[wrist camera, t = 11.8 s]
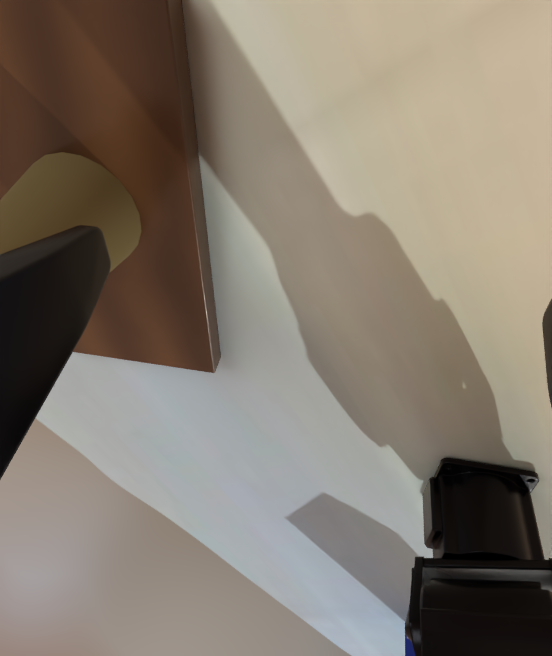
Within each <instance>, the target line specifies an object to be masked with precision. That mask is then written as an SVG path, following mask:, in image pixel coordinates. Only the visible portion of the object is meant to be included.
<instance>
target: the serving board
mask: <svg viewBox="0 0 552 656" xmlns="http://www.w3.org/2000/svg"><path fill="white" fill-rule="evenodd" d="M60 152H65V153H70V154H75V155H81V156H83V157H85V158H87V159H90V160H92V161H94V162H96V163H98V164H100V165H102V166H103V167H104V168H105V169H106V170H108V171H109V172H110V173H111V174H113V175H114V176H115V177H116V178H117V179H119V181H120V182H121V183H122V184H123V186H124V187H125V188H126V190H127V191H128V192H129V194H130V195H131V196H132V198H133V200H134V203H135V205H136V207H137V210H138V212H139V214H140V222H141V235H140V239H139V243H138V246H137V247H136V248H135V249H134V250H133V252H132V253H131V254H130V255H129V256H128V257H127V258H126V259H125V260H123V261H122V262H121V263H120V264H119V265H118V266H117V267H115V268H114V269H113V270H112V271H111V272H110V273H109V275H108V277H107V280H106V282H105V285H104V287H103V289H102V292H101V294H100V296H99V299H98V301H97V304H96V306H95V308H94V311H93V313H92V316H91V318H90V320H89V322H88V324H87V327H86V329H85V331H84V332H83V334H82V336H81V338H80V340H79V342H78V343H77V345H76V347H75V349H74V350H73V352H78V353H84V354H91V355H98V356H104V357H111V358H118V359H124V360H131V361H138V362H144V363H151V364H158V365H164V366H171V367H178V368H184V369H191V370H198V371H204V372H211V373H215V371H216V368H217V366H218V363H219V360H220V358H221V354H220V345H219V336H218V327H217V318H216V309H215V300H214V291H213V282H212V273H211V264H210V255H209V246H208V236H207V227H206V218H205V209H204V200H203V191H202V182H201V173H200V164H199V155H198V146H197V137H196V128H195V119H194V109H193V100H192V91H191V82H190V73H189V64H188V55H187V46H186V37H185V28H184V19H183V10H182V1H181V0H0V200H1V199H2V197H3V196H4V195H5V194H6V193H7V192H8V191H9V190H10V189H11V187H12V186H13V185H14V184H15V183H16V182H17V181H18V180H19V179H20V177H21V176H22V175H23V174H24V173H25V172H26V171H27V170H28V169H29V167H30V166H31V165H32V164H33V163H34V162H36V161H37V160H39V159H40V158H42V157H43V156H45V155H48V154H54V153H60Z"/></svg>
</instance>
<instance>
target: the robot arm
mask: <svg viewBox="0 0 552 656" xmlns="http://www.w3.org/2000/svg"><path fill="white" fill-rule="evenodd" d="M110 269H111V260H110V256H109V253H108V249H107V246H106V242H105V238H104V235H103V232H102V231H101V229H100V228H98V227H95V226H87V225H78V226H75V227H73V228H70V229H67V230H65V231H62V232H59V233H56V234H54V235H51V236H48V237H46V238H43V239H40V240H38V241H35V242H32V243H30V244H27V245H24V246H21V247H19V248H16V249H13V250H11V251H8V252H5V253H3V254H0V479H1V477H2V476H3V474H4V472H5V470H6V469H7V467H8V465H9V463H10V461H11V460H12V458H13V456H14V454H15V453H16V451H17V449H18V447H19V446H20V444H21V442H22V440H23V438H24V436H25V435H26V433H27V432H28V430H29V428H30V426H31V424H32V423H33V421H34V419H35V417H36V416H37V414H38V412H39V410H40V409H41V407H42V405H43V403H44V402H45V400H46V398H47V396H48V394H49V393H50V391H51V389H52V387H53V386H54V384H55V382H56V380H57V379H58V377H59V375H60V373H61V372H62V370H63V368H64V366H65V364H66V363H67V361H68V359H69V357H70V356H71V354H72V352H73V350H74V349H75V347H76V345H77V343H78V342H79V340H80V338H81V336H82V334H83V332H84V331H85V329H86V327H87V324H88V322H89V320H90V318H91V316H92V313H93V311H94V308H95V306H96V304H97V301H98V299H99V296H100V294H101V292H102V289H103V287H104V285H105V282H106V280H107V277H108V275H109V272H110ZM542 325H543V337H544V349H545V361H546V372H547V383H548V391H549V397H550V402H551V407H552V299H551V301H550V303H549V305H548V307H547V309H546V311H545V313H544V316H543V323H542ZM538 482H539V479H538V475H537V473H535V472H532V471H526V470H519V469H513V468H507V467H501V466H495V465H489V464H483V463H477V462H471V461H465V460H459V459H453V458H444V459H442V460H441V462H440V464H439V466H438V469H437V471H436V473H435V476H434V477H431V478H430V479H429V481H428V484H427V486H426V488H425V491H424V493H423V516H424V543H425V545H426V547H427V548H431V549H433V558H424V557H415V567H414V568H412V583H411V596H410V605H409V610H408V615H407V619H406V624H405V633H406V636H407V637H408V638H409V639H410V641H411V642H412V644H413V648H414V652H415V656H552V558H549V560H545V559H544V554H543V550H542V545H541V541H540V536H539V531H538V527H537V522H536V518H535V513H534V508H533V504H532V499H531V495H530V493H531V492H532V490H533V489H534V487H535V486H536V485H537V483H538Z"/></svg>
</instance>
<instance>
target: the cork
mask: <svg viewBox="0 0 552 656" xmlns="http://www.w3.org/2000/svg"><path fill="white" fill-rule="evenodd" d="M78 225H87V226H95V227H98V228H100V229H101V231H102V232H103V235H104V238H105V242H106V246H107V249H108V253H109V256H110V260H111V269H110V272H111V271H112V270H113V269H114V268H115V267H117V266H118V265H119V264H120V263H121V262H122V261H123V260H125V259H126V258H127V257H128V256H129V255H130V254H131V253H132V252H133V250H134V249H135V248H136V247H137V246H138V243H139V239H140V235H141V222H140V214H139V212H138V210H137V207H136V205H135V203H134V200H133V198H132V196H131V195H130V194H129V192H128V191H127V190H126V188H125V187H124V186H123V184H122V183H121V182H120V181H119V179H117V178H116V177H115V176H114V175H113V174H111V173H110V172H109V171H108V170H106V169H105V168H104V167H103V166H102V165H100V164H98V163H96V162H94V161H92V160H90V159H87V158H85V157H83V156H81V155H75V154H70V153H65V152H60V153H54V154H48V155H45V156H43V157H42V158H40V159H39V160H37V161H36V162H34V163H33V164H32V165H31V166H30V167H29V169H28V170H27V171H26V172H25V173H24V174H23V175H22V176H21V177H20V179H19V180H18V181H17V182H16V183H15V184H14V185H13V186H12V187H11V189H10V190H9V191H8V192H7V193H6V194H5V195H4V196H3V197H2V199H1V200H0V254H3V253H5V252H8V251H11V250H13V249H16V248H19V247H21V246H24V245H27V244H30V243H32V242H35V241H38V240H40V239H43V238H46V237H48V236H51V235H54V234H56V233H59V232H62V231H65V230H67V229H70V228H73V227H75V226H78ZM110 272H109V273H110Z"/></svg>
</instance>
